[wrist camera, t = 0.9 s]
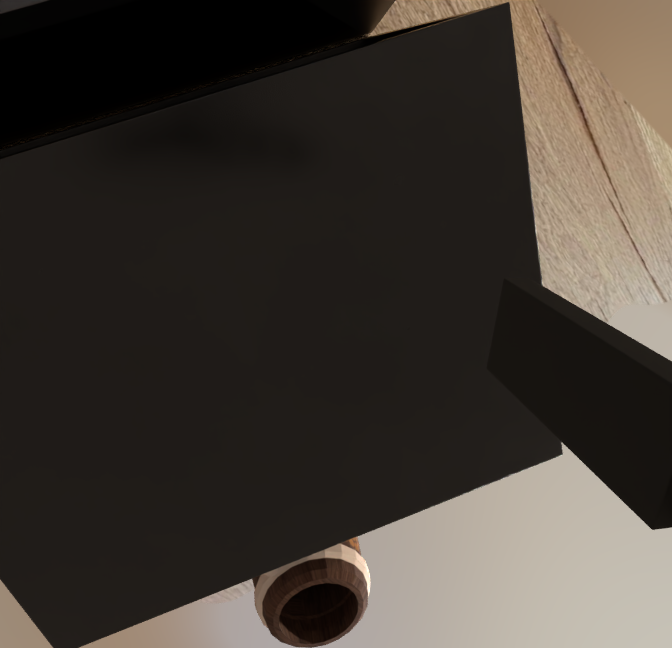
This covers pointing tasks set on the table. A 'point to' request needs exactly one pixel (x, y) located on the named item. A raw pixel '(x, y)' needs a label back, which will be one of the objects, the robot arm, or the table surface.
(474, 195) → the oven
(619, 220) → the table surface
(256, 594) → the mug
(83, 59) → the oven door
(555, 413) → the robot arm
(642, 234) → the table surface
